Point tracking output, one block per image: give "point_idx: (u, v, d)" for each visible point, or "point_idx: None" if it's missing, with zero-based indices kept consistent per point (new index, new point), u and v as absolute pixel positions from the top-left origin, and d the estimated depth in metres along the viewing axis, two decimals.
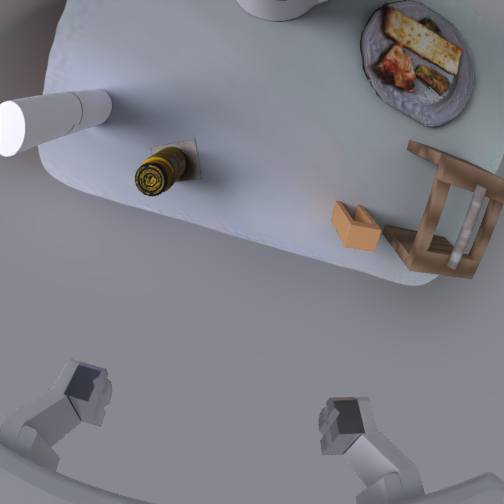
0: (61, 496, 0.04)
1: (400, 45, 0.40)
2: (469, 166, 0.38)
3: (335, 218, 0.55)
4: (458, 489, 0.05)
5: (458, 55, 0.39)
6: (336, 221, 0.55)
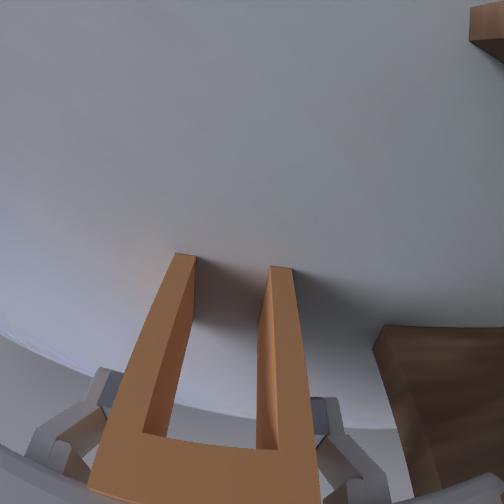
0: (61, 496, 0.04)
1: None
2: None
3: None
4: (458, 489, 0.05)
5: None
6: None
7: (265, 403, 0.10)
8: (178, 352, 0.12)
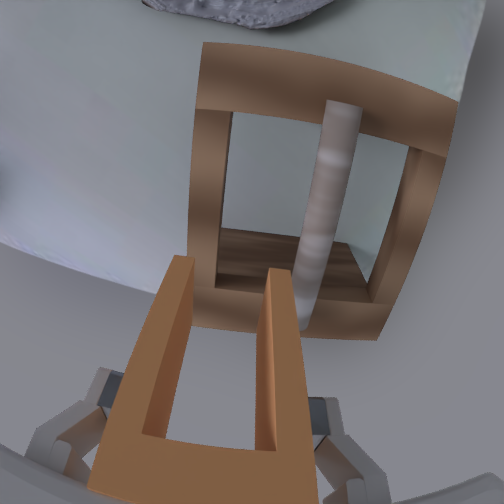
0: (62, 496, 0.04)
1: None
2: (290, 54, 0.14)
3: None
4: (458, 489, 0.05)
5: None
6: None
7: (264, 404, 0.10)
8: (177, 353, 0.12)
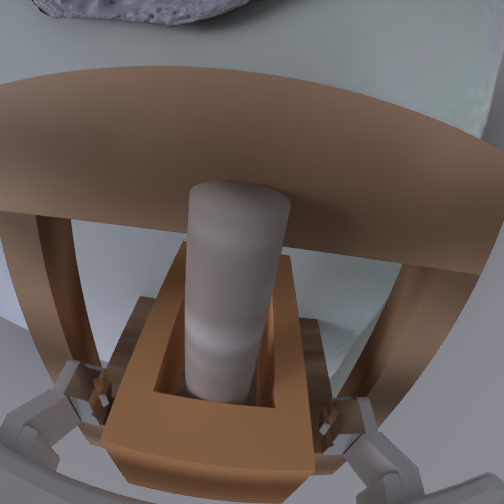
0: (62, 496, 0.04)
1: None
2: (119, 76, 0.06)
3: None
4: (458, 489, 0.05)
5: None
6: None
7: (264, 374, 0.11)
8: None
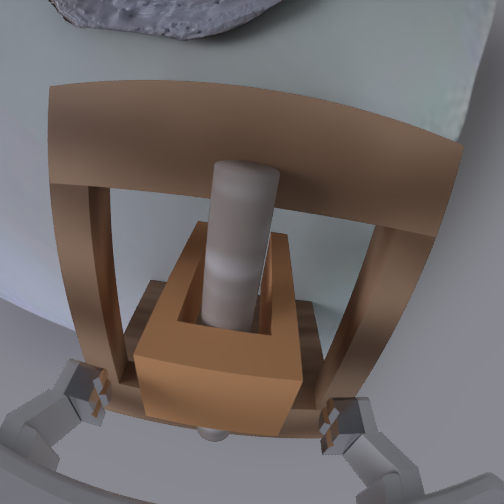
0: (61, 496, 0.04)
1: None
2: (163, 87, 0.09)
3: None
4: (458, 489, 0.05)
5: None
6: None
7: (264, 323, 0.14)
8: (199, 292, 0.16)
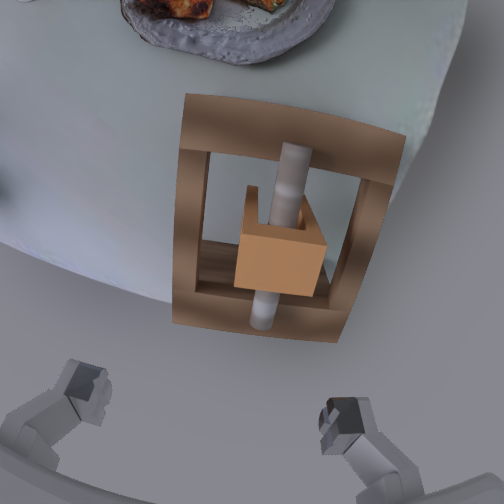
0: (62, 496, 0.04)
1: None
2: (255, 104, 0.19)
3: None
4: (458, 489, 0.05)
5: None
6: None
7: None
8: None
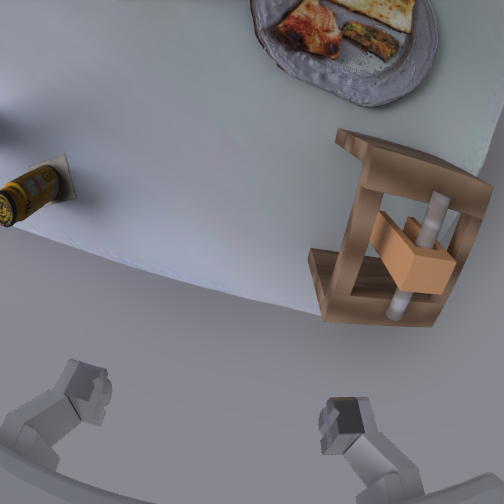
0: (61, 496, 0.04)
1: None
2: (418, 162, 0.25)
3: (378, 237, 0.34)
4: (458, 489, 0.05)
5: (410, 5, 0.26)
6: (379, 242, 0.34)
7: None
8: None
